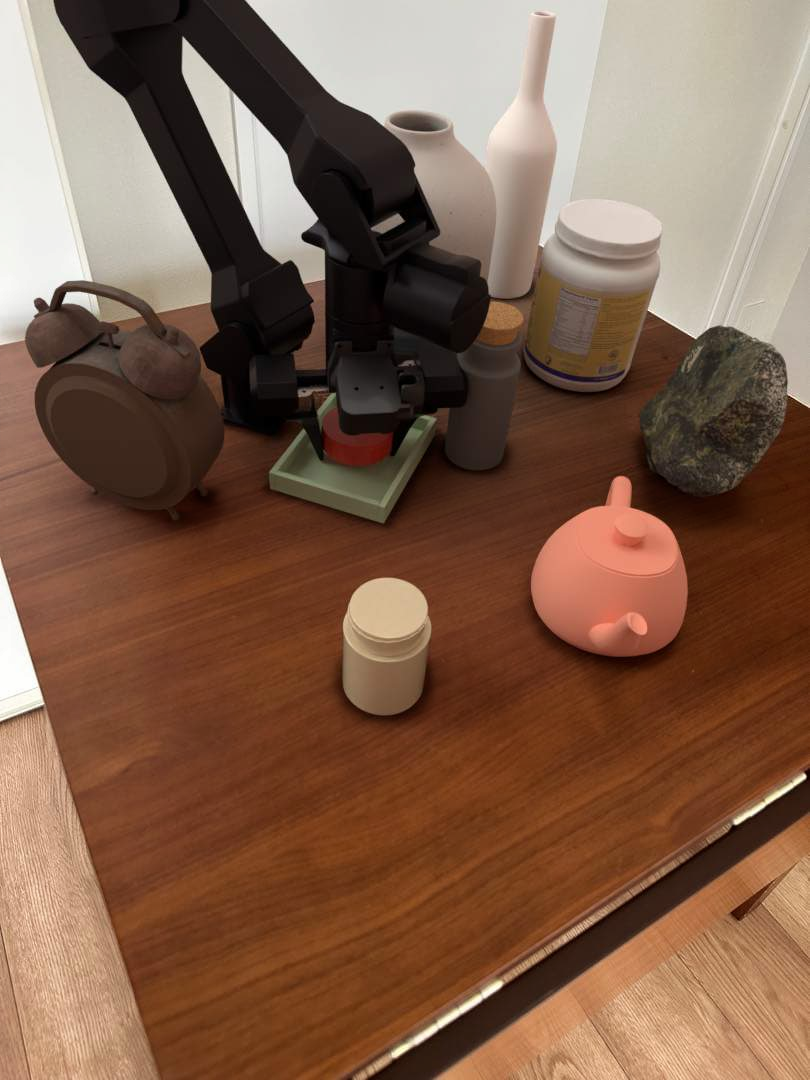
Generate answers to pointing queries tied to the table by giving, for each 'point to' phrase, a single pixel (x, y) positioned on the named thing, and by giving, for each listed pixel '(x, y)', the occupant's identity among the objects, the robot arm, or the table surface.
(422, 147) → the vase
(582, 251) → the supplement tub
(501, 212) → the bottle
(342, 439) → the jar lid
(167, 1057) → the table surface
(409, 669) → the jar
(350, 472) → the tray
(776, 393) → the stone
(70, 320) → the alarm clock
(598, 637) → the teapot
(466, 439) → the bottle
